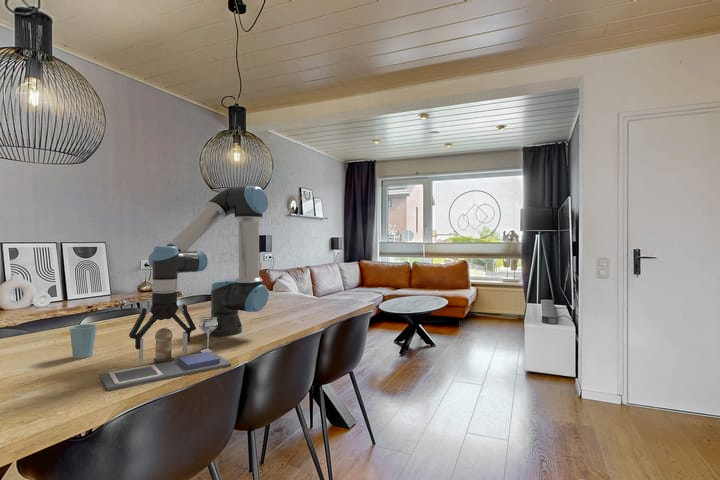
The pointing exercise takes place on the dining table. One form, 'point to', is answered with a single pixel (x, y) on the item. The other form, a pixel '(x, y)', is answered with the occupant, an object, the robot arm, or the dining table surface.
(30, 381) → the dining table surface
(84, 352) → the cup
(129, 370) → the desk mat
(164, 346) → the stamp
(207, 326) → the wineglass
